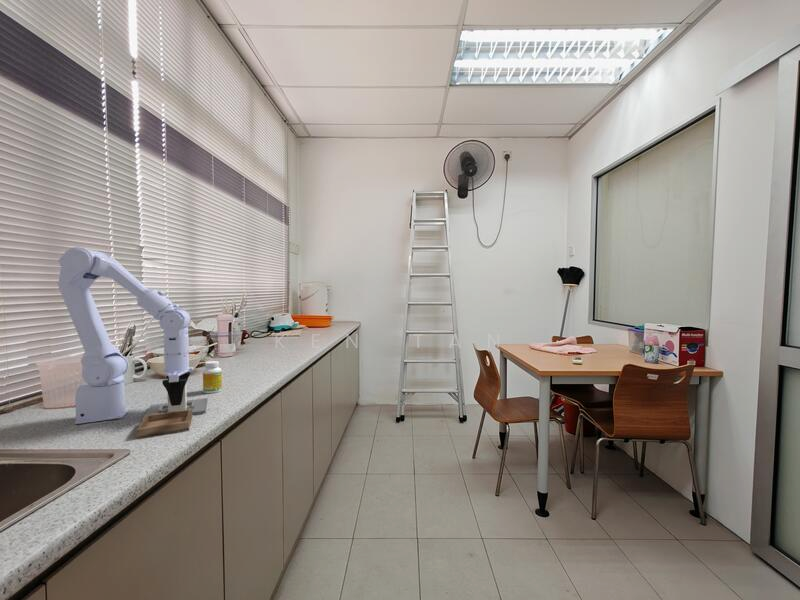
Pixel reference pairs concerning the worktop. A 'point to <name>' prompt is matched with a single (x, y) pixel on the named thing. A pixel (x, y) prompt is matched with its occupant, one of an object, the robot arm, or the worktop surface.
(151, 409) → the frame
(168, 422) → the tray
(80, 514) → the worktop surface
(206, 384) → the supplement bottle
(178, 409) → the block
